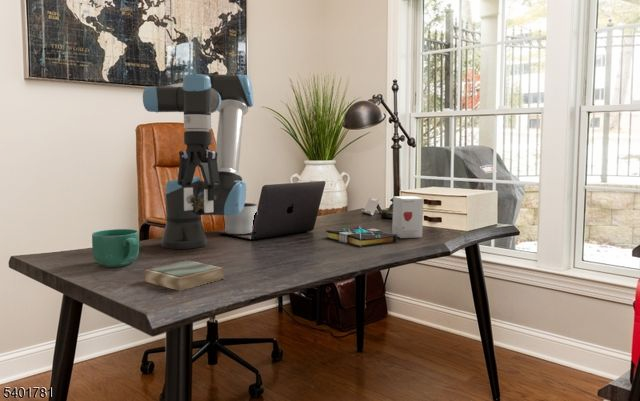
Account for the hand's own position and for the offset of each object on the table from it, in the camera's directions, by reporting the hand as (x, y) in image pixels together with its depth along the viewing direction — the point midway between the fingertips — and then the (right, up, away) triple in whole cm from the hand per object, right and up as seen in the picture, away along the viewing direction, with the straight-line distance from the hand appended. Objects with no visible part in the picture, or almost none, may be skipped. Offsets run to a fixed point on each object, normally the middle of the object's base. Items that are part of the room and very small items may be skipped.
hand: (198, 211), depth 152 cm
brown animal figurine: (+1, 0, +2) cm, 2 cm away
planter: (+4, -10, +57) cm, 59 cm away
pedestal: (0, -17, -15) cm, 23 cm away
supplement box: (+68, -11, +52) cm, 87 cm away
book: (+49, -12, +43) cm, 67 cm away
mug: (-23, -16, +1) cm, 28 cm away
